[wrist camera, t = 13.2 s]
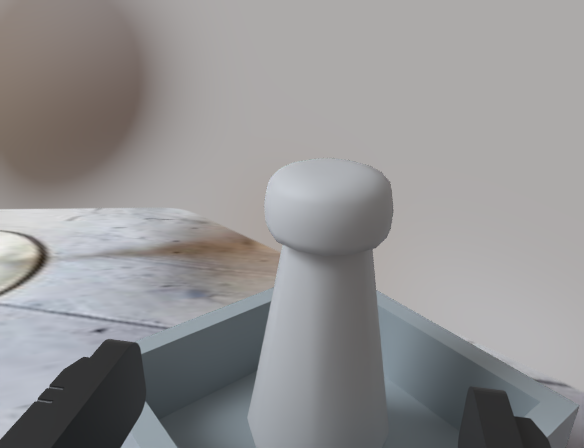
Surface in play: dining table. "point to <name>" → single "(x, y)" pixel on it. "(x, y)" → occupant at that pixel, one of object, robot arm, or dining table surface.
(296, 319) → the salt shaker
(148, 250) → the dining table surface
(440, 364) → the bin
